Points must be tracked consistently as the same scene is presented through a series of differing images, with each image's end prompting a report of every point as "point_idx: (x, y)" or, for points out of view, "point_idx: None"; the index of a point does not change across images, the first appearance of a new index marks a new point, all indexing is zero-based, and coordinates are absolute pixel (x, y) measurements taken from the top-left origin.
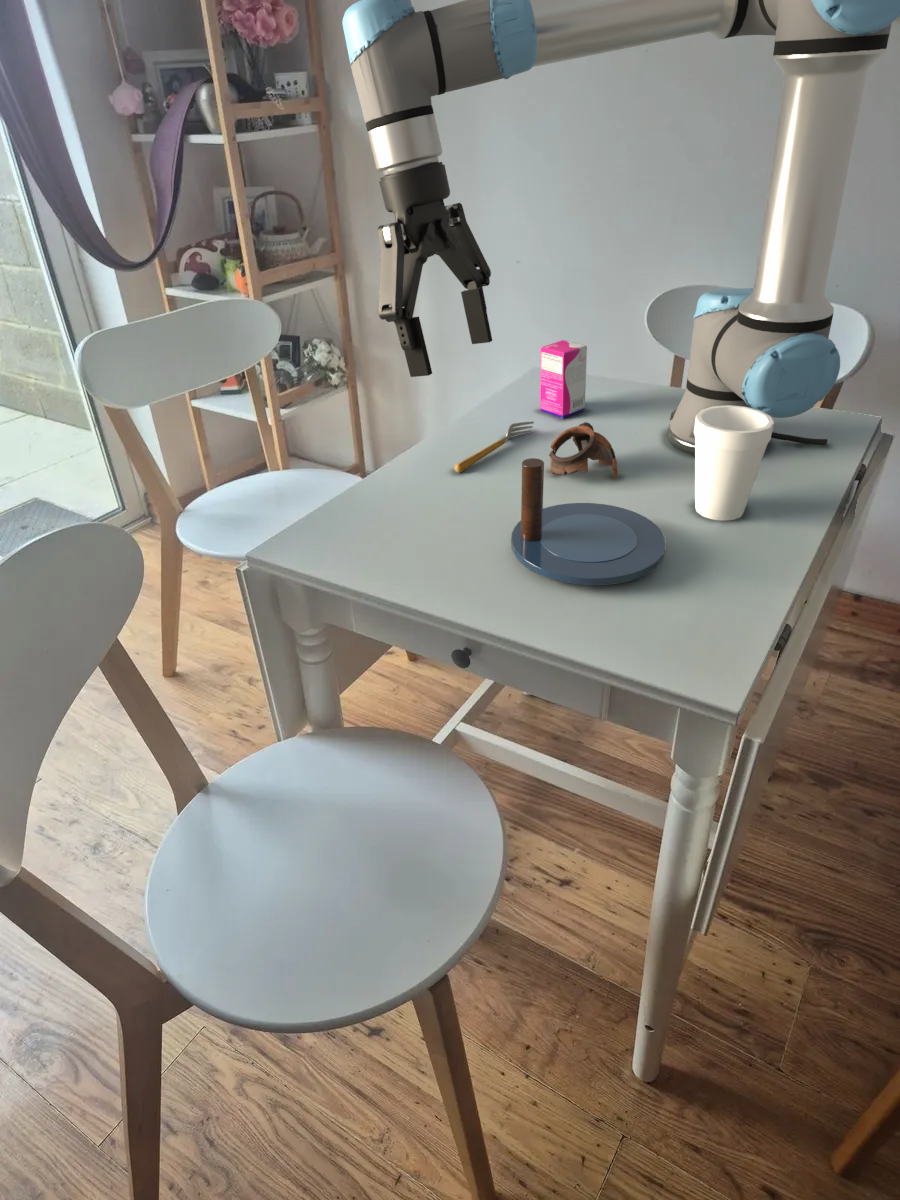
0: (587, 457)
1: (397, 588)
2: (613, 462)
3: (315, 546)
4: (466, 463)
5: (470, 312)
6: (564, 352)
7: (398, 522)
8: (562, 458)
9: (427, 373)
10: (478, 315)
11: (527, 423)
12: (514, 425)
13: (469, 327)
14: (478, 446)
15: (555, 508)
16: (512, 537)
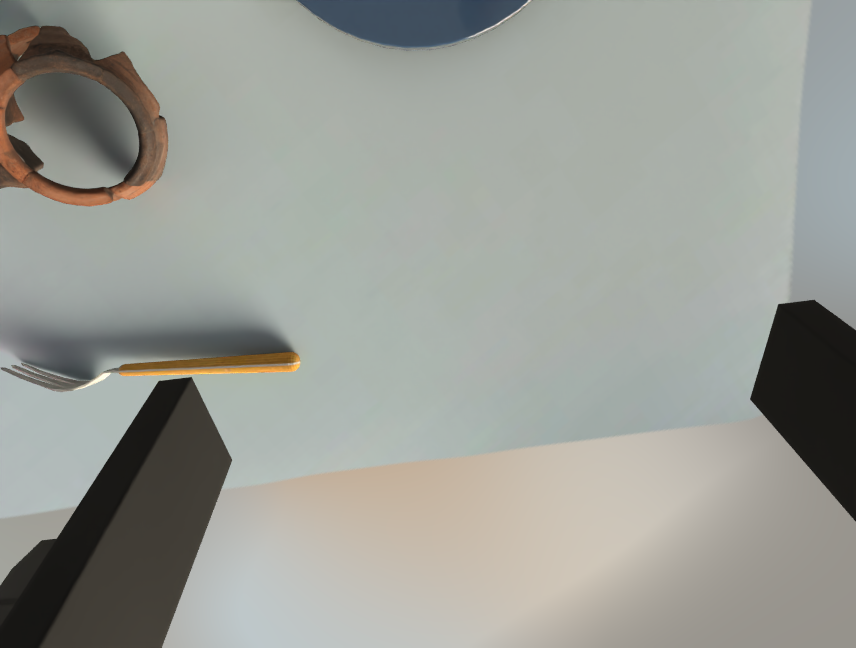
0: (93, 60)
1: (759, 127)
2: (17, 38)
3: (698, 364)
4: (271, 357)
5: (153, 599)
6: None
7: (541, 308)
8: (143, 128)
9: (822, 309)
10: (137, 537)
11: (19, 374)
12: (56, 387)
13: (200, 530)
14: None
15: (336, 6)
16: (523, 3)
